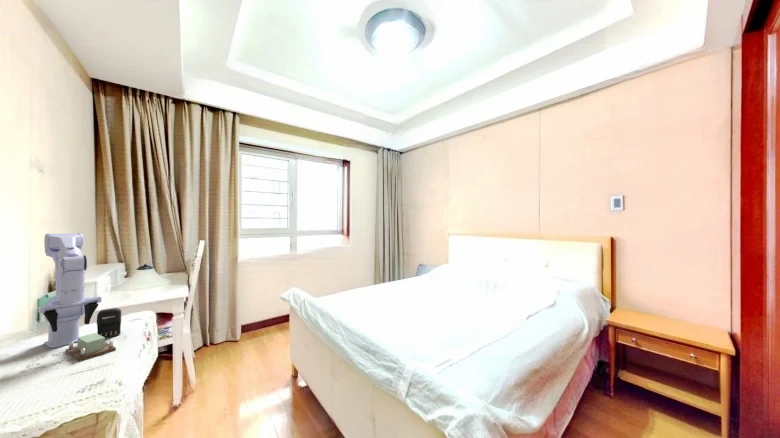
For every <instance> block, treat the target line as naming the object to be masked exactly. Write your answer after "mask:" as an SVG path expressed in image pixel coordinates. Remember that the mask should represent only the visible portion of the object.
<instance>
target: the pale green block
mask: <svg viewBox="0 0 780 438" xmlns="http://www.w3.org/2000/svg"><path fill="white" fill-rule="evenodd" d="M105 342H106V338H105V337H103V336H101V335H99V334H97V332H94V333H89V334H85V335H81V336H79V337H78V342H77V346H78V347H77V346H76V347H77V348H78V349H79V350H81V349H84V348H85V353H86V354H88V353H92V352H95V351H99V350H102V349H105Z"/></svg>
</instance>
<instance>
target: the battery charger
mask: <svg viewBox="0 0 780 438" xmlns="http://www.w3.org/2000/svg"><path fill="white" fill-rule="evenodd" d="M122 312H123V311H122V308H120V307H112V308H104V309H101V310H99V311H98V313H97V314H96V315H97V316H96V329H97V332H96V333H97V334H100V335H101V336H103V337H105V339H108V338H112V337H117V336H119V335H120V334H121V332H122V331H121V330H122V329H121V327H122V319H123V318H122V317H123V316H122V315H123V314H122Z"/></svg>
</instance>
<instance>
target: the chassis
mask: <svg viewBox="0 0 780 438" xmlns="http://www.w3.org/2000/svg"><path fill="white" fill-rule="evenodd" d="M99 335H100V334H99ZM77 347H78V345H77V346H75V347H74V343H73V342H69V344H68V348H67V349H65V353H66V354H68V356H71V357H72V358H73V359H75V360H77V361H78V362H82V361H86V360H88V359H91V358H95V357H98V356H102V355H104V354H107V353H111V352H115V351H116V350H117V347H116V346H114V340H109V342H106V341H105V349H102V350H99V351H95V352H92V353H88V354H86V353H85V348H84V349H81V350H79V349H78V348H77Z"/></svg>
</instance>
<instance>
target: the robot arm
mask: <svg viewBox="0 0 780 438" xmlns="http://www.w3.org/2000/svg"><path fill="white" fill-rule="evenodd" d="M43 239H44V254H45V256H47V257H50V258H52V260H53V262H54V268H55V269H54V273H55V293H56V294H55V296H53V297H52V298H50V299H48V300H47V301H46V302H45V304H44V305H41V306H38V310H37V311H38V312H37V313H38V314H43V316H44V321H45V322H47V323H49V325H48V333H47V335H48V336H47V340H45V341H44V342H43V344H44V345H46V346H47V347H49V348H50V349H55V348H60V347H63V346H66V345H69V342H73V344H74V343H78V337H80V319H81V316H84V318H83V319H84V320H83V321H84V324H85V325H89V324H90V321H91V319H92V317H93V315H94V313H95V311H96V309H97V308H98V307H99V303H102V297H101V296H95V297H87V298H85V279H86V278H85V275H86V271H87V269H88V264H89V263H88V257H87V255H85V254H83V253H82V250H83V249H82V248H83V244H84V235H83V233H82V232H77V233H76V232H73V233H71V232H70V233H67V232H66V233H50V232H49V233H46V234H44V238H43Z"/></svg>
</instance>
